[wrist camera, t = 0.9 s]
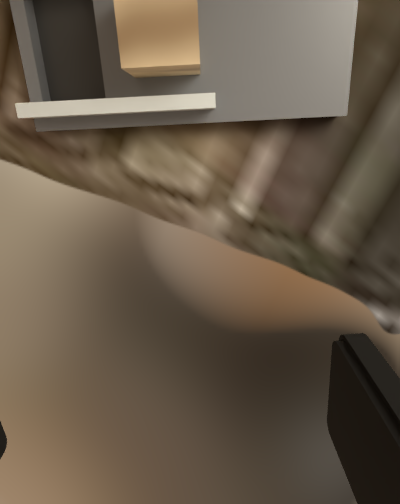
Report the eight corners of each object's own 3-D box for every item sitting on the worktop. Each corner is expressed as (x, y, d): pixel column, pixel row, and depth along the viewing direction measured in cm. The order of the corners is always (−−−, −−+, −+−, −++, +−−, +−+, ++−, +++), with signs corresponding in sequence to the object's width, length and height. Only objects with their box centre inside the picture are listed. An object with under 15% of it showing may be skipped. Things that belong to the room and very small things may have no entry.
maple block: (127, 0, 25) (110, -29, 20) (197, -4, 25) (195, -34, 20) (135, 77, 26) (121, 68, 22) (200, 74, 26) (200, 64, 22)
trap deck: (13, -41, 25) (-24, -73, 21) (353, -62, 25) (383, -99, 21) (46, 131, 30) (21, 132, 26) (337, 116, 29) (360, 115, 25)
